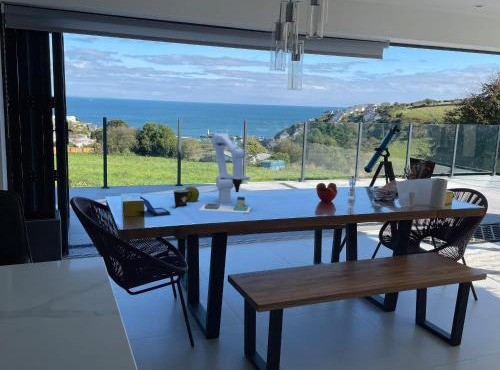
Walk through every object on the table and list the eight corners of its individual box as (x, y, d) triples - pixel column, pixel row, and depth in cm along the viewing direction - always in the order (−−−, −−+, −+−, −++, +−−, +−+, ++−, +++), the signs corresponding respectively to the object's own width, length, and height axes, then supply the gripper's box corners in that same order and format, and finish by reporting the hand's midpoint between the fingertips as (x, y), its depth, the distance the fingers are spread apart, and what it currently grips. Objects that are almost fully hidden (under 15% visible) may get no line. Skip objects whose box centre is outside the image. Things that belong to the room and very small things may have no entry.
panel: (204, 206, 281) (204, 201, 280) (251, 208, 277) (251, 204, 277) (198, 211, 267) (198, 206, 267) (248, 214, 264) (248, 209, 263)
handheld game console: (171, 215, 257) (171, 199, 256) (148, 217, 251) (147, 201, 249) (162, 209, 271) (162, 194, 269) (139, 211, 264) (139, 195, 262)
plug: (237, 208, 273) (238, 196, 272) (244, 208, 272) (244, 197, 271) (236, 209, 269) (237, 198, 268) (243, 210, 269) (243, 198, 267)
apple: (200, 201, 295) (200, 184, 293) (197, 204, 286) (197, 186, 284) (184, 200, 296) (185, 183, 294) (181, 203, 287) (181, 186, 285)
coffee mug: (174, 209, 272) (174, 192, 270) (172, 205, 280) (172, 189, 278) (194, 208, 275) (194, 191, 273) (192, 205, 283) (192, 189, 281)
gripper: (224, 169, 268) (223, 192, 271) (249, 170, 266) (248, 193, 269) (226, 167, 275) (225, 190, 277) (250, 169, 273) (250, 191, 276)
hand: (237, 192), depth 274 cm, fingers closed
